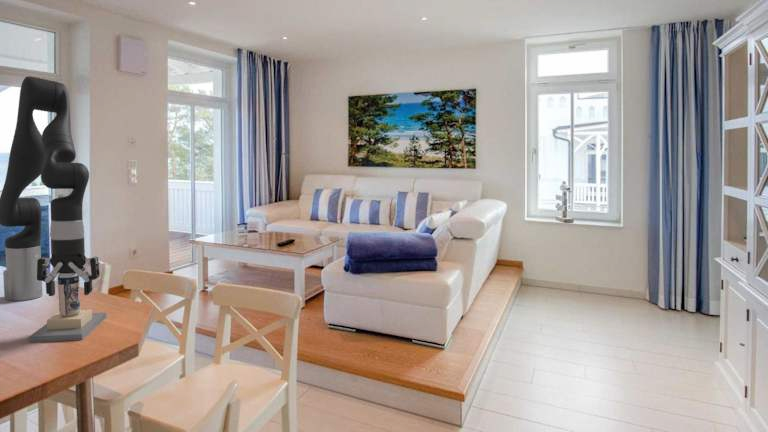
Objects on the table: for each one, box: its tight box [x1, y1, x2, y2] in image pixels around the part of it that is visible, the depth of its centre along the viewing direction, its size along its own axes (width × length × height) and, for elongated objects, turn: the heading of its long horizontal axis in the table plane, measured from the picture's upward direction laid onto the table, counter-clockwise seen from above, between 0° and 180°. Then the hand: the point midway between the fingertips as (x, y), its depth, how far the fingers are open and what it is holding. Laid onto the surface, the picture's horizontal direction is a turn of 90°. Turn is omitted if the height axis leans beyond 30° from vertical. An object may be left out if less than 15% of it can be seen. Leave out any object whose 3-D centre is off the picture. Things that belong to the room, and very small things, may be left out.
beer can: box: [57, 273, 82, 317], centre depth 126 cm, size 5×5×12 cm
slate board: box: [28, 309, 107, 343], centre depth 127 cm, size 12×18×4 cm, turn 14°
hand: (69, 294), depth 126 cm, fingers open, 8 cm apart
